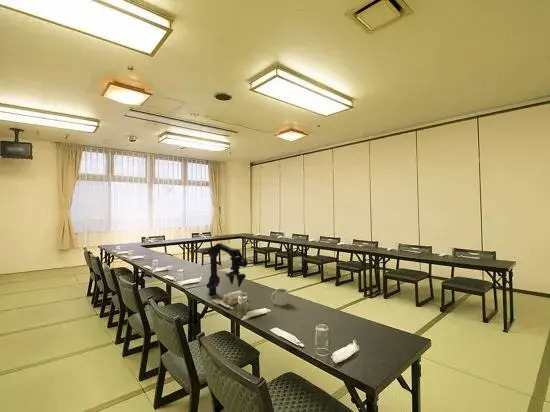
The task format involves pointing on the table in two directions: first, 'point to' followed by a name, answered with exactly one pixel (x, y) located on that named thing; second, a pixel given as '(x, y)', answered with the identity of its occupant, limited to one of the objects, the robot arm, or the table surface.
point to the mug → (280, 297)
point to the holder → (231, 299)
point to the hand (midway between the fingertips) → (235, 285)
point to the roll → (235, 295)
